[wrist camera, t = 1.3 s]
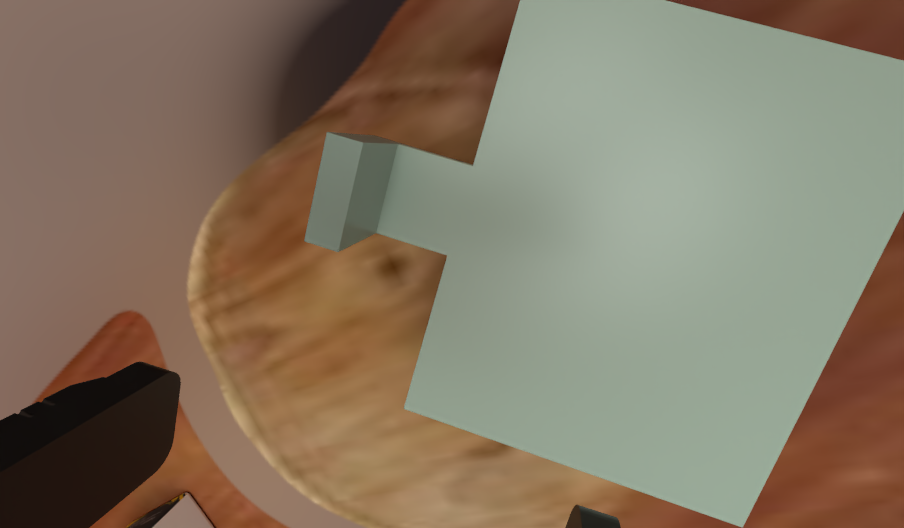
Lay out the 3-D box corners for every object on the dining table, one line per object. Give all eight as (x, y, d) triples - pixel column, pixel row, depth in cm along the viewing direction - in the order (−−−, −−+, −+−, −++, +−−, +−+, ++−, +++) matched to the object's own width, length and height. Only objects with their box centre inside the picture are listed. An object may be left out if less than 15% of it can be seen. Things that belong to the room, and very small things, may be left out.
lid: (426, -43, 25) (379, -120, 18) (926, 85, 23) (1101, 56, 16) (331, 359, 31) (265, 423, 24) (725, 495, 29) (787, 613, 21)
